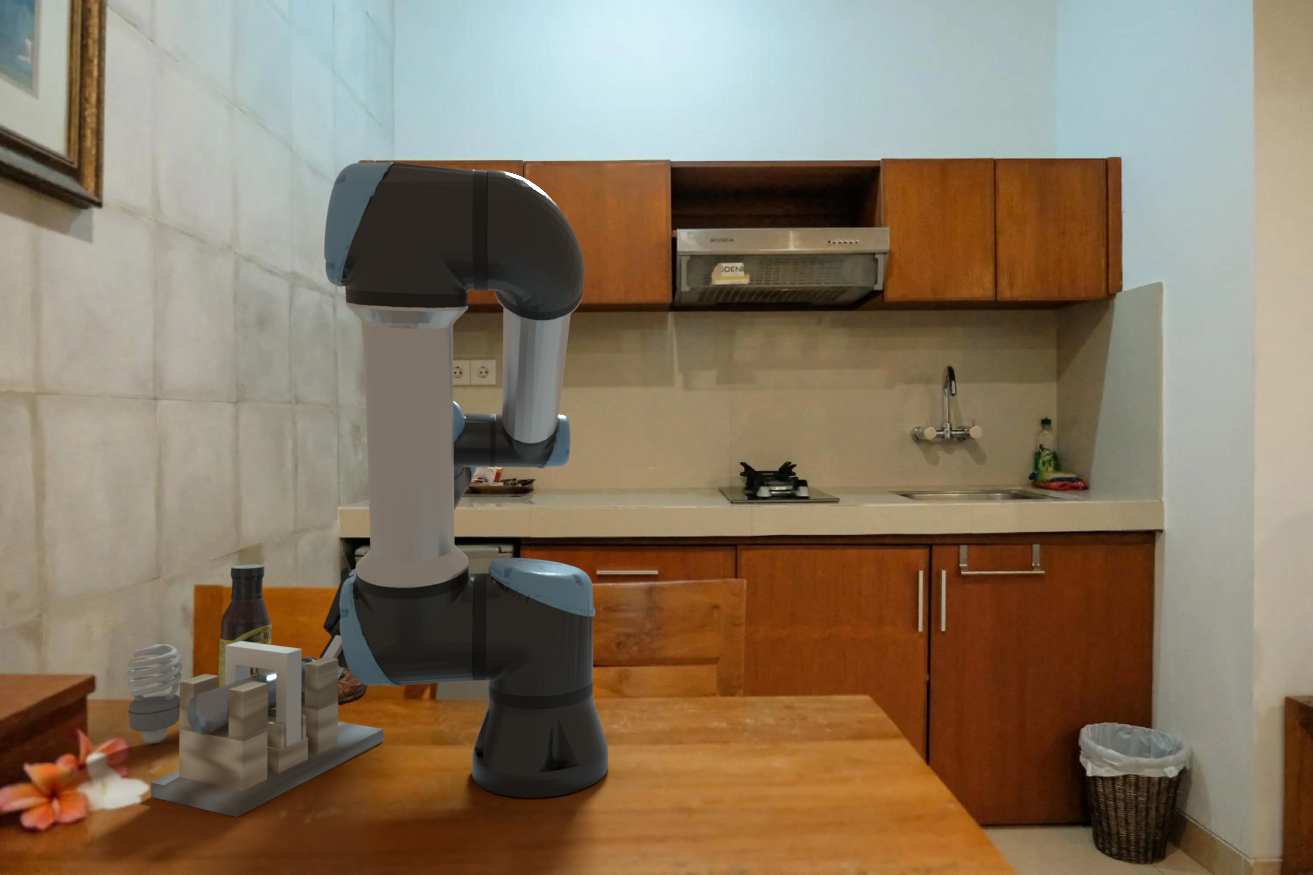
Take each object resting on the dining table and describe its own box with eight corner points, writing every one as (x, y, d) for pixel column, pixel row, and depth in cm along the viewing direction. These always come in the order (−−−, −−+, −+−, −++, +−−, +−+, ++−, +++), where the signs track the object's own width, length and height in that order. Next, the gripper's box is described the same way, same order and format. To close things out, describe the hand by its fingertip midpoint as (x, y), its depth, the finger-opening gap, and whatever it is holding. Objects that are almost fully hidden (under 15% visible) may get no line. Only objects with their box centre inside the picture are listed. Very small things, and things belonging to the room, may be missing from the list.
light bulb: (186, 733, 99) (187, 637, 99) (175, 749, 94) (175, 648, 94) (134, 738, 98) (135, 641, 98) (120, 755, 92) (120, 652, 92)
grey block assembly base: (383, 741, 97) (383, 647, 97) (236, 817, 78) (237, 699, 78) (307, 728, 101) (308, 638, 101) (150, 796, 82) (151, 685, 82)
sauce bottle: (247, 723, 103) (248, 571, 103) (206, 720, 104) (207, 569, 104) (281, 707, 109) (282, 563, 109) (241, 704, 111) (242, 561, 111)
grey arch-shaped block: (300, 739, 87) (301, 648, 87) (286, 746, 85) (287, 653, 85) (240, 728, 90) (240, 640, 90) (224, 734, 88) (225, 645, 88)
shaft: (296, 691, 95) (296, 654, 95) (324, 695, 93) (325, 658, 93) (185, 732, 81) (185, 690, 81) (216, 738, 80) (217, 695, 80)
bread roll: (383, 685, 119) (380, 653, 119) (338, 720, 108) (334, 686, 108) (319, 682, 122) (315, 651, 121) (269, 717, 111) (264, 683, 110)
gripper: (459, 554, 111) (376, 710, 95) (384, 548, 116) (293, 697, 100) (436, 519, 106) (344, 678, 90) (359, 515, 111) (259, 666, 95)
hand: (318, 688), depth 95 cm, fingers closed
